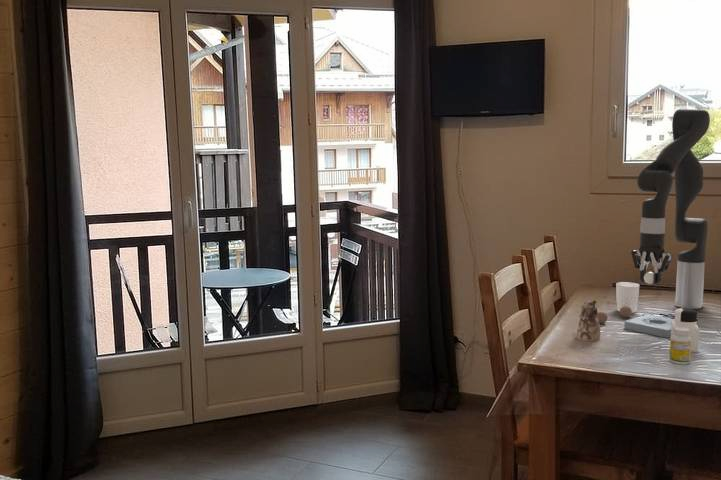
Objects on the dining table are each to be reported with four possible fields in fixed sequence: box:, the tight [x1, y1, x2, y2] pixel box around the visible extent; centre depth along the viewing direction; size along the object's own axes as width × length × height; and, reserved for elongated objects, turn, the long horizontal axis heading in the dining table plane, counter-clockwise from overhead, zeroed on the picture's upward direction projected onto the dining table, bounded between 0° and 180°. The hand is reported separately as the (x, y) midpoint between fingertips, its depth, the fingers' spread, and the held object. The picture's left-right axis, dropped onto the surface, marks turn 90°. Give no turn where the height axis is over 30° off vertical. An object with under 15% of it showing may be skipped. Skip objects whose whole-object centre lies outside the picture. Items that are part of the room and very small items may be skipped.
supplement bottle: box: [669, 327, 692, 366], centre depth 203 cm, size 5×5×10 cm
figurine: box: [576, 300, 602, 342], centre depth 228 cm, size 7×7×12 cm
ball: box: [644, 271, 655, 285], centre depth 239 cm, size 4×4×4 cm
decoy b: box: [597, 311, 608, 324], centre depth 247 cm, size 4×4×4 cm
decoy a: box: [619, 306, 633, 319], centre depth 255 cm, size 4×4×4 cm
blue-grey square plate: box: [623, 313, 675, 339], centre depth 239 cm, size 15×15×2 cm
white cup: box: [615, 281, 640, 314], centre depth 264 cm, size 8×8×10 cm
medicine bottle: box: [669, 307, 700, 353], centre depth 216 cm, size 7×7×12 cm
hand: (650, 282), depth 239 cm, fingers closed on ball, 4 cm apart
